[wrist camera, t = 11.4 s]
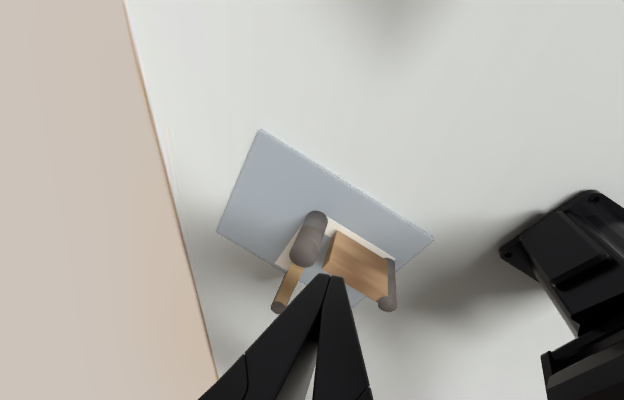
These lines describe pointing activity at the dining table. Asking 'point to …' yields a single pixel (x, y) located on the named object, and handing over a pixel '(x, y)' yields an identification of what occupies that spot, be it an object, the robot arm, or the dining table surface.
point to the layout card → (299, 202)
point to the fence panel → (286, 288)
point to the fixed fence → (346, 261)
